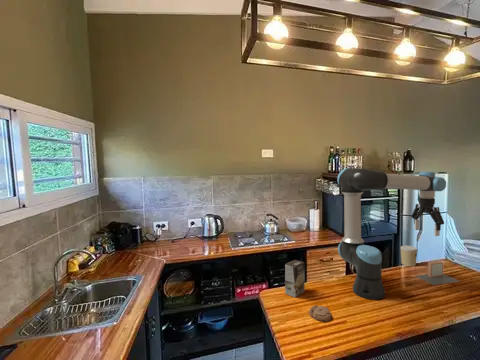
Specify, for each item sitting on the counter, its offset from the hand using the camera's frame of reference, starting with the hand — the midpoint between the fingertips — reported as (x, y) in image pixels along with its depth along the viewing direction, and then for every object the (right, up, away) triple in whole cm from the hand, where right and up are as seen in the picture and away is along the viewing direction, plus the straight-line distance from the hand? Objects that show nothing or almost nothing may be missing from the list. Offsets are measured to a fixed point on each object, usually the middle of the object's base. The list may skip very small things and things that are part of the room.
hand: (426, 232), depth 160 cm
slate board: (0, -25, -9) cm, 27 cm away
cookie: (-76, -30, -40) cm, 90 cm away
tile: (+1, -24, -6) cm, 25 cm away
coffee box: (-83, -28, -19) cm, 89 cm away
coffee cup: (-3, -24, +13) cm, 28 cm away
